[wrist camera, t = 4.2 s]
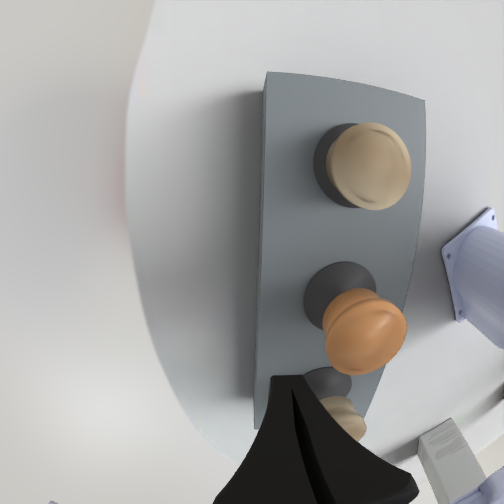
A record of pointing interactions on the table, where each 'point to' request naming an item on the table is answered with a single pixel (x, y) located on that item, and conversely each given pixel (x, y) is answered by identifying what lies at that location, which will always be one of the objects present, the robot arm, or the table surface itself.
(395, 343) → the orange knob
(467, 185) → the table surface
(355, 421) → the beech knob far
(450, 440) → the skincare box
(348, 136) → the beech knob near
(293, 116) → the console
